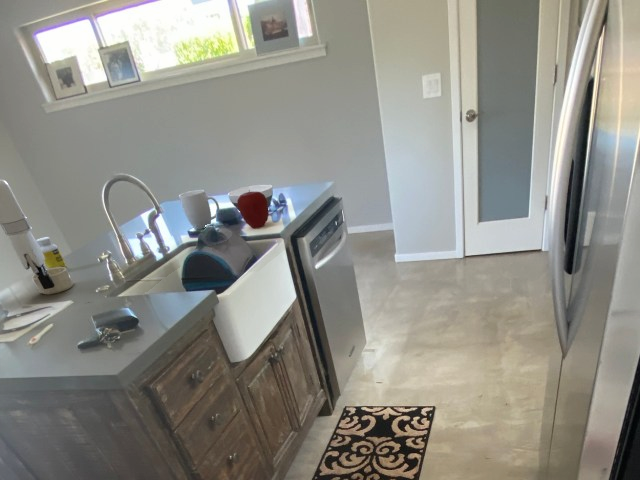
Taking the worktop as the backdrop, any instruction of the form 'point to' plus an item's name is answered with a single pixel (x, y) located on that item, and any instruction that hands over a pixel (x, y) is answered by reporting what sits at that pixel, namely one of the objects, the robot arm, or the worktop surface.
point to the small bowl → (55, 280)
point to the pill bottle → (51, 253)
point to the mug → (197, 208)
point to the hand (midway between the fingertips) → (49, 287)
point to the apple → (253, 208)
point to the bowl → (264, 189)
